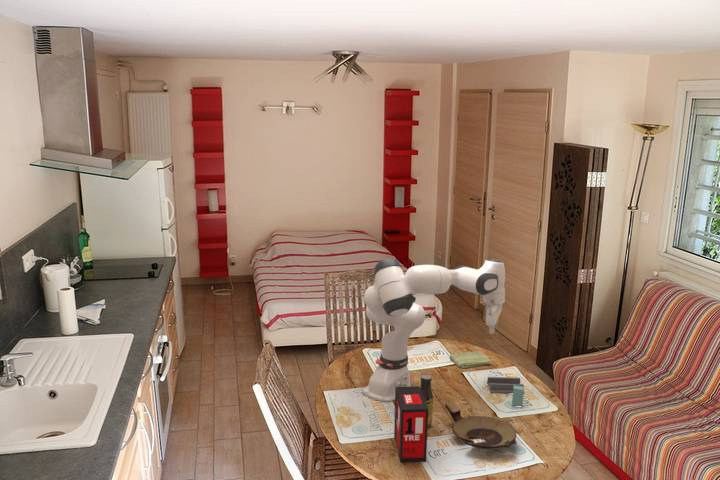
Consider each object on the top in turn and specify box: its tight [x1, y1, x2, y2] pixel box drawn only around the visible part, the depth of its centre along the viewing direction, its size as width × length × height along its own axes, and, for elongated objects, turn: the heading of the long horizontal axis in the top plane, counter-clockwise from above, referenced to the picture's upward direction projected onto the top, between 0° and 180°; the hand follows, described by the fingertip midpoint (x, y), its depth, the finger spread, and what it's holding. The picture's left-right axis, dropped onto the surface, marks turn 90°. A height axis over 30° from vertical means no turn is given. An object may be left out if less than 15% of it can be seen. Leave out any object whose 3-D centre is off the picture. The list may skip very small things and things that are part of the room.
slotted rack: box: [486, 376, 525, 395], centre depth 257 cm, size 14×10×4 cm
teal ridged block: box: [511, 385, 525, 408], centre depth 242 cm, size 4×3×8 cm
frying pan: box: [444, 402, 517, 450], centre depth 219 cm, size 22×30×8 cm
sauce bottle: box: [420, 374, 434, 429], centre depth 226 cm, size 6×6×20 cm
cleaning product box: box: [393, 385, 428, 464], centre depth 210 cm, size 16×9×20 cm, turn 4°
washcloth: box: [449, 350, 493, 369], centre depth 284 cm, size 13×18×3 cm
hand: (493, 329), depth 248 cm, fingers open, 8 cm apart
